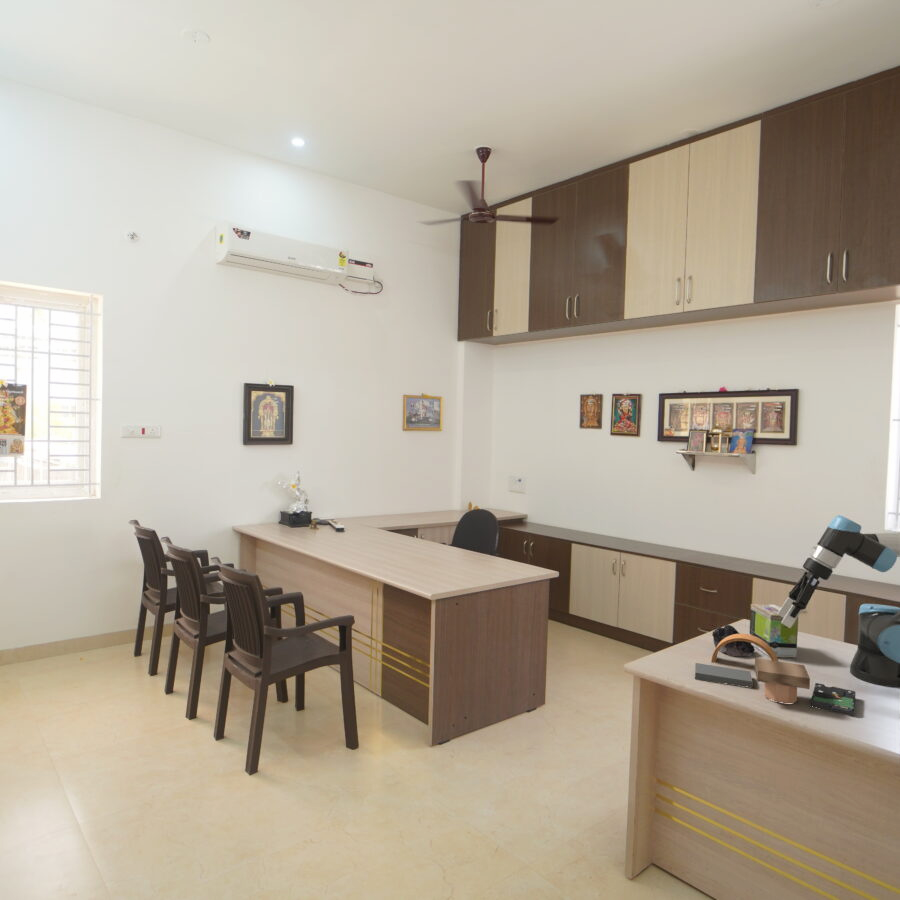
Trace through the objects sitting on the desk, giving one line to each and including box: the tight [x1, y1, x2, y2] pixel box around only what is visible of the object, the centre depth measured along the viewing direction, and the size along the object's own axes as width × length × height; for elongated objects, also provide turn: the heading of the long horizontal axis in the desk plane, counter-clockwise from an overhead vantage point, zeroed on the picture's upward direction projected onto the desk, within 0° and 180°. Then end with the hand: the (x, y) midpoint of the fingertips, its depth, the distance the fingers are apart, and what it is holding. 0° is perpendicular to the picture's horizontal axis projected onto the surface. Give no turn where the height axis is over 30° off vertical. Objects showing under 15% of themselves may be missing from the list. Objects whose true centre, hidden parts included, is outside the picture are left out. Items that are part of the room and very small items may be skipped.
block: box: [694, 662, 753, 688], centre depth 195 cm, size 16×9×2 cm, turn 68°
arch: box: [711, 633, 779, 664], centre depth 206 cm, size 6×20×10 cm, turn 59°
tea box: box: [748, 603, 799, 658], centre depth 222 cm, size 15×10×15 cm
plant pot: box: [763, 682, 798, 704], centre depth 181 cm, size 8×8×6 cm
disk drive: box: [810, 682, 856, 718], centre depth 179 cm, size 10×3×15 cm
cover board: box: [754, 657, 811, 690], centre depth 181 cm, size 13×11×3 cm
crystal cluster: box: [711, 624, 755, 657], centre depth 221 cm, size 13×14×10 cm
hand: (783, 621), depth 194 cm, fingers open, 13 cm apart
